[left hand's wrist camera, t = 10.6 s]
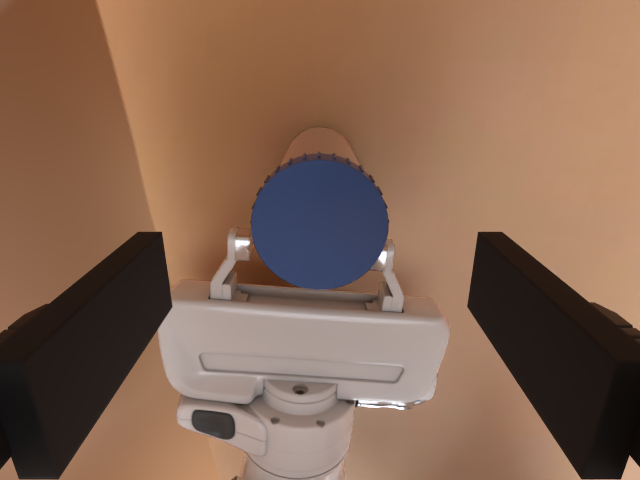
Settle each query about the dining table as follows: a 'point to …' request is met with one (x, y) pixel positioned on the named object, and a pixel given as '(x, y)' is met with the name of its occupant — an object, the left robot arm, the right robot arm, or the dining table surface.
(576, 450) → the left robot arm
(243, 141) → the dining table surface
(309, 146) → the grey tall cylinder
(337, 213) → the lid
